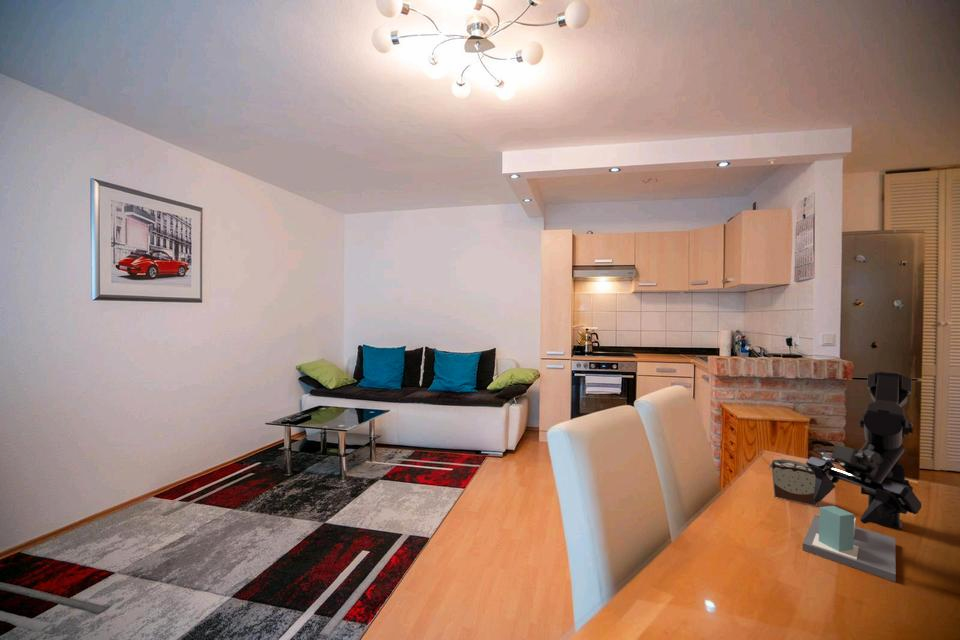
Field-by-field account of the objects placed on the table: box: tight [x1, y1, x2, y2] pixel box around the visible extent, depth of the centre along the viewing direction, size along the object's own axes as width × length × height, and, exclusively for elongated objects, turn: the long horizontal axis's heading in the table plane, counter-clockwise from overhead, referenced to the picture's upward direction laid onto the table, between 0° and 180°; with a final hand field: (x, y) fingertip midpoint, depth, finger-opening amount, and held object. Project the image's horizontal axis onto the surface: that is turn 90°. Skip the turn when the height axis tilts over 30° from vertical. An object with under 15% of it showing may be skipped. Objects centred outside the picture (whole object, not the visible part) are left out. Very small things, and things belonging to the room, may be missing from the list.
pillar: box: [818, 505, 855, 551], centre depth 86 cm, size 4×4×8 cm
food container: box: [768, 458, 818, 508], centre depth 114 cm, size 12×6×10 cm, turn 58°
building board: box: [802, 514, 897, 583], centre depth 88 cm, size 20×14×4 cm
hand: (837, 511), depth 86 cm, fingers open, 9 cm apart
